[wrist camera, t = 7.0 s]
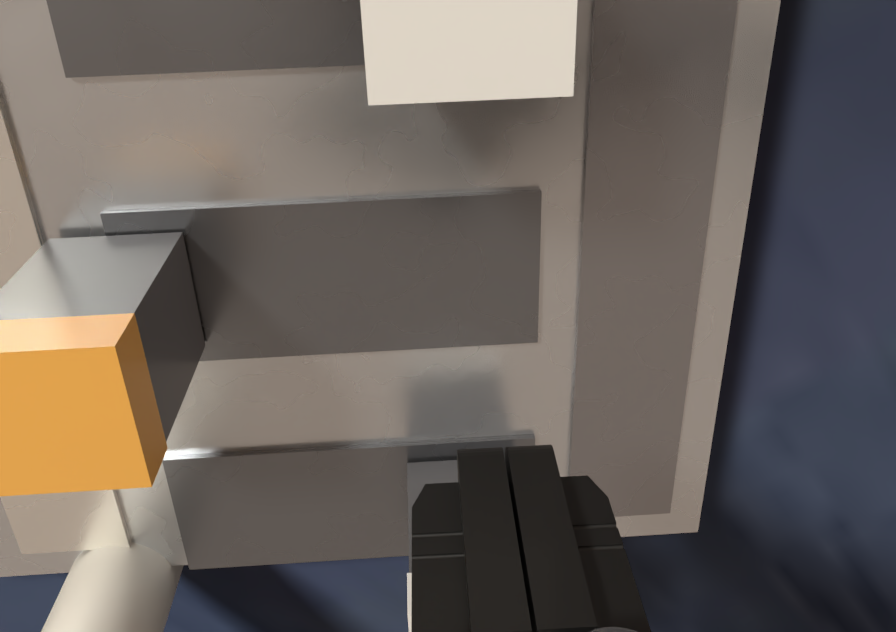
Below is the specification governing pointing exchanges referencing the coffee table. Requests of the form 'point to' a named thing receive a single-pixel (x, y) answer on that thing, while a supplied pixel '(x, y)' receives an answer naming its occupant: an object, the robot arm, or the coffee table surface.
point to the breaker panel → (390, 260)
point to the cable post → (115, 592)
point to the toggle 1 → (95, 362)
